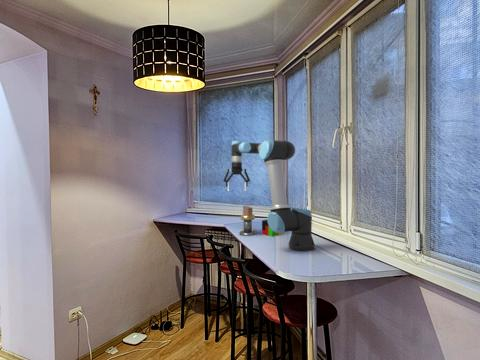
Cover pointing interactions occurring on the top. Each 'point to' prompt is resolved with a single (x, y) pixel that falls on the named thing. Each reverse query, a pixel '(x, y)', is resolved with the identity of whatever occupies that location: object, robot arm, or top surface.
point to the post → (247, 229)
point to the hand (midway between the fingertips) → (236, 191)
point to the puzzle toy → (268, 229)
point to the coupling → (247, 213)
